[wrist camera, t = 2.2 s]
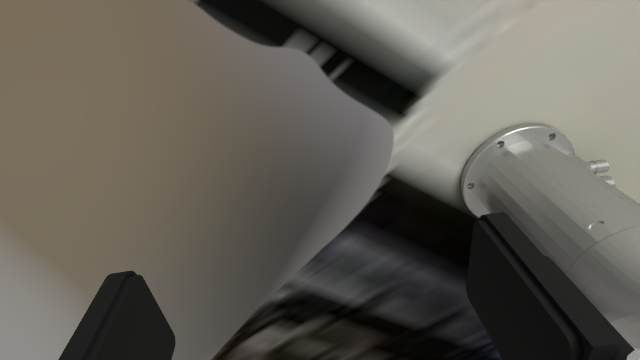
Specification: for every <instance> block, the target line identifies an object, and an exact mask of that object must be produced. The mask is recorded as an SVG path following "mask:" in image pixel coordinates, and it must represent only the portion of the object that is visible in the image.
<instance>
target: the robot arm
mask: <svg viewBox="0 0 640 360" xmlns="http://www.w3.org/2000/svg"><path fill="white" fill-rule="evenodd" d="M608 170H609V164H608V162H607V161H606V160H597V161H591V162H587V163H586V162H584V161H583V160H581V159H580V158H578V157H577V156H575V155H574V149H573V147H572V144H571V142H570V141H569V140H568V139H567V137H566V136H565V135H563V134H562V133H560V132H559V131H557V130H556V129H554V128H552V127H550V126H546V125H542V124H523V125H517V126H514V127H511V128H508V129H505V130H503V131H501V132H499V133H497V134H496V135H494V136H493V137H491V138H490V139H488V140H487V141H486V142H484V143H483V144H482V145H481V146H480V147H479V148H478V149H477V150H476V151H475V153H474V154H473V155H472V156H471V158H470V159H469V161H468V163H467V164H466V166H465V168H464V171H463V174H462V177H461V184H460V187H461V195H462V198H463V201H464V202H465V204H466V205H467V207H468V208H469V209H470V211H471V212H472V213H473V214H474V215H476V216H477V217H479V221H476V222H475V223H474V226H473V235H472V243H471V251H470V260H469V268H468V277H467V285H466V291H467V295H468V298H469V300H470V302H471V304H472V306H473V308H474V309H475V311H476V313H477V315H478V317H479V318H480V320H481V322H482V324H483V326H484V327H485V329H486V331H487V333H488V334H489V336H490V338H491V340H492V342H493V343H494V345H495V347H496V349H497V351H498V352H499V354H500V356H501V358H502V360H640V204H639V203H638V202H636V201H635V200H633V199H632V198H630V197H629V196H627V195H626V194H624V193H623V192H621V191H620V190H618V189H617V188H615V181H614V179H613V178H612V177H610V176H600V177H598V176H597V175H595V174H596V173H603V172H607V171H608ZM633 347H635V348H638V349H637V350H634V349H633ZM174 348H175V336H174V333H173V331H172V329H171V328H170V326H169V324H168V322H167V321H166V318H165V317H164V315H163V313H162V311H161V309H160V308H159V306H158V304H157V302H156V300H155V299H154V297H153V295H152V293H151V291H150V289H149V288H148V286H147V284H146V282H145V280H144V279H143V277H142V276H141V275H137V274H136V273H135V272H134V271H126V272H120V273H114V274H110V275H108V276H107V277H106V279H105V280H104V282H103V284H102V286H101V287H100V289H99V291H98V293H97V294H96V296H95V298H94V299H93V301H92V303H91V304H90V306H89V308H88V310H87V312H86V313H85V315H84V317H83V318H82V320H81V322H80V324H79V325H78V327H77V329H76V330H75V332H74V334H73V336H72V337H71V339H70V341H69V343H68V344H67V346H66V348H65V349H64V351H63V353H62V355H61V356H60V358H59V360H171V358H172V355H173V352H174Z"/></svg>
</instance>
